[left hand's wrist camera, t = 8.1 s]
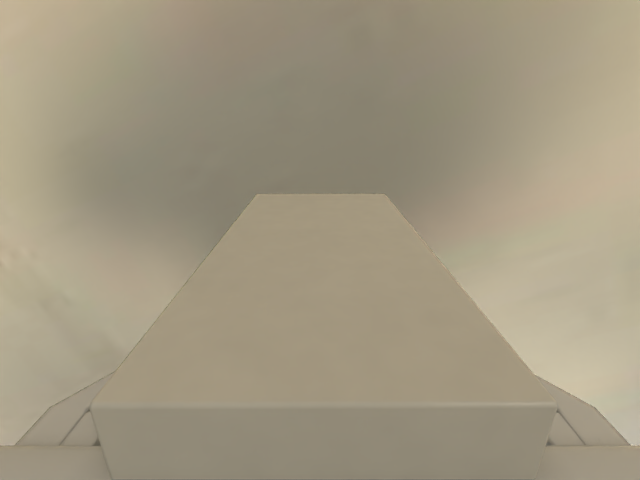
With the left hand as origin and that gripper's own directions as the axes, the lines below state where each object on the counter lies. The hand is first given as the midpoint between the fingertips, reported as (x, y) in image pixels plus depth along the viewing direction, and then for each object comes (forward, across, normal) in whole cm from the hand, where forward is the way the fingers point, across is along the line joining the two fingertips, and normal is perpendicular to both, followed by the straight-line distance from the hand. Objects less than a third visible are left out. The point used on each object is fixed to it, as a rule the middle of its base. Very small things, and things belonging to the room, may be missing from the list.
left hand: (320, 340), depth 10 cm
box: (+6, 0, +8) cm, 10 cm away
